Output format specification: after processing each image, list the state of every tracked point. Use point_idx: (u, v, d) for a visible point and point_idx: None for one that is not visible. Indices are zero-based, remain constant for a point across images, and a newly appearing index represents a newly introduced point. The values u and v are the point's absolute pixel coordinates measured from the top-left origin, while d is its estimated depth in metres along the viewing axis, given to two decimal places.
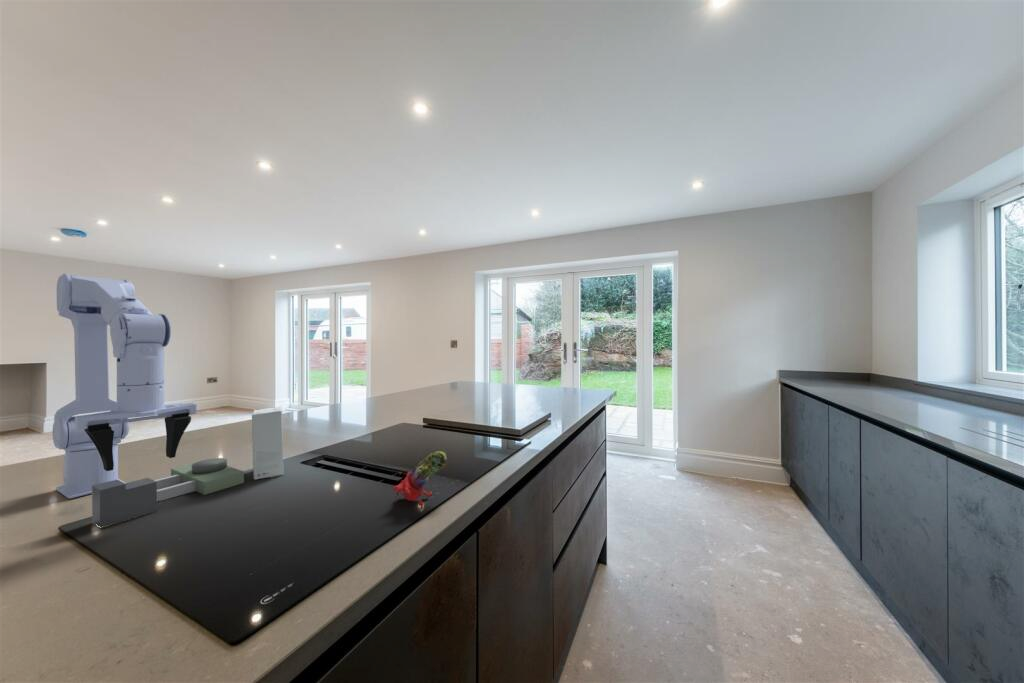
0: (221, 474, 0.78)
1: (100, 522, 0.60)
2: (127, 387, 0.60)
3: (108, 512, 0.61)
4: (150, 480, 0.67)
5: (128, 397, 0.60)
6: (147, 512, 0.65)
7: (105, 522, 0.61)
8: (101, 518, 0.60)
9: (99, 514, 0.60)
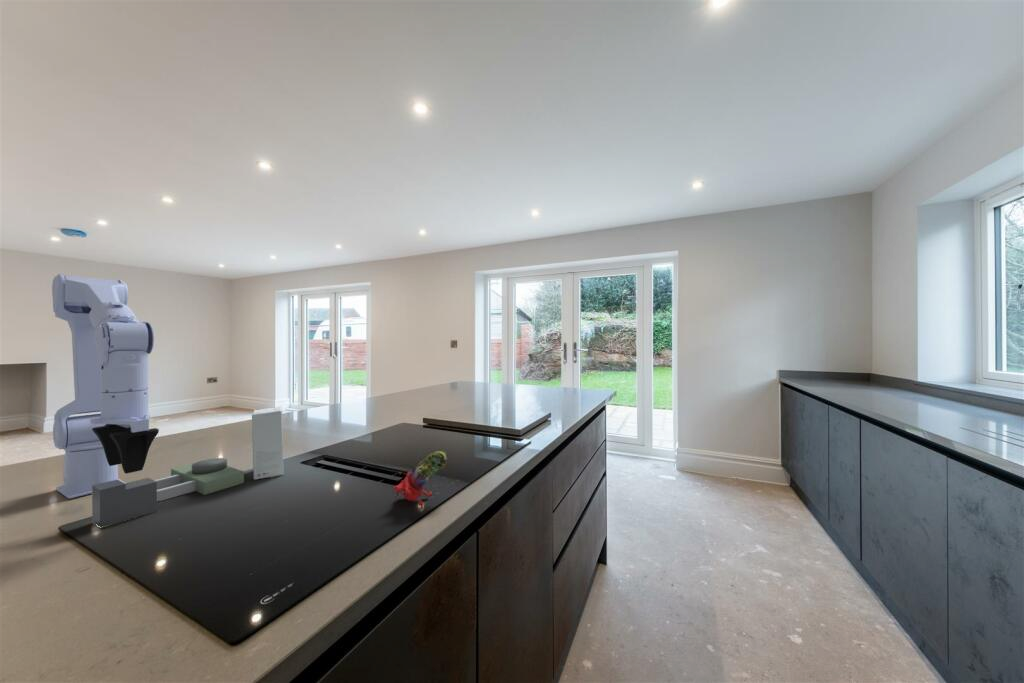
0: (221, 474, 0.78)
1: (100, 522, 0.60)
2: (104, 392, 0.63)
3: (108, 512, 0.61)
4: (150, 480, 0.67)
5: None
6: (147, 512, 0.65)
7: (105, 522, 0.61)
8: (101, 518, 0.60)
9: (99, 514, 0.60)
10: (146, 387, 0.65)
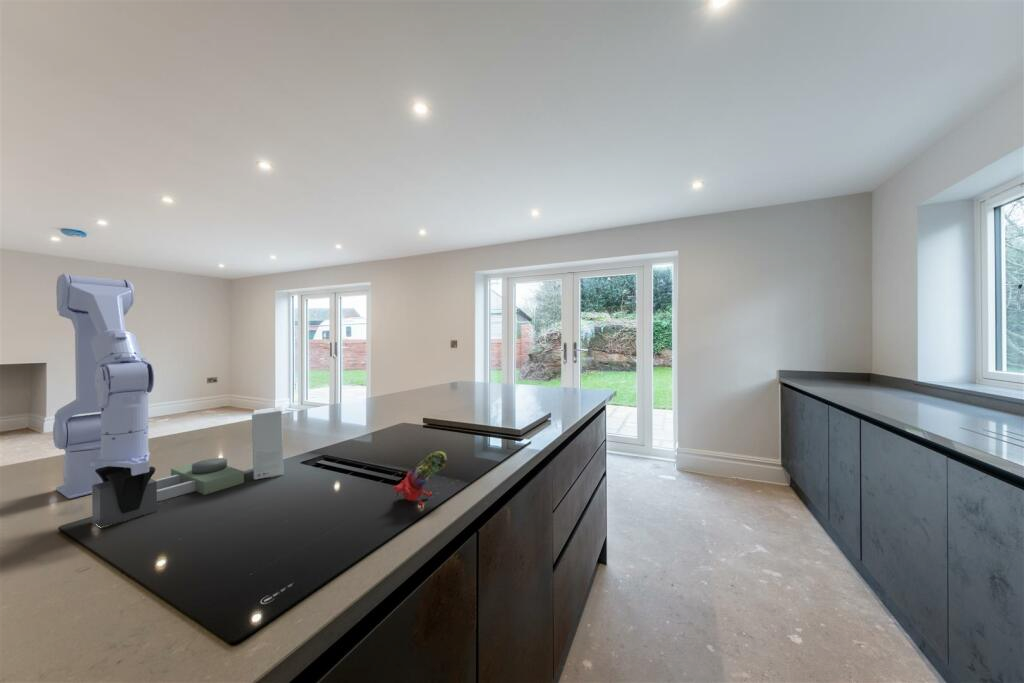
0: (221, 474, 0.78)
1: (100, 521, 0.60)
2: None
3: (108, 511, 0.61)
4: (150, 480, 0.67)
5: None
6: (147, 512, 0.65)
7: (105, 521, 0.61)
8: (101, 517, 0.60)
9: (99, 513, 0.60)
10: (146, 426, 0.65)
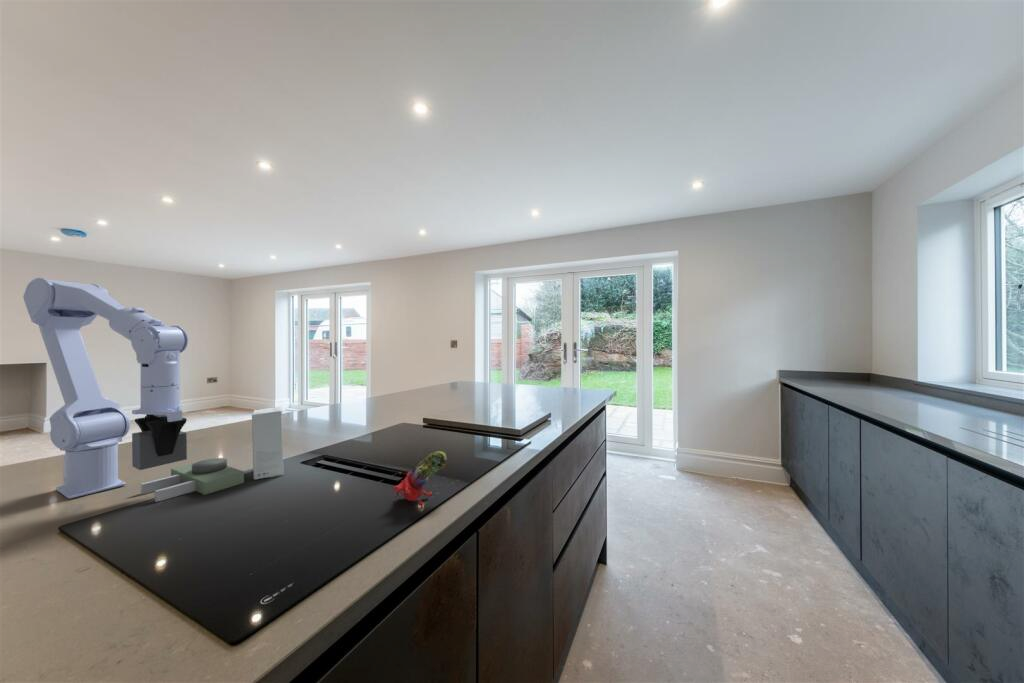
0: (221, 474, 0.78)
1: (140, 464, 0.69)
2: None
3: (146, 455, 0.70)
4: (180, 432, 0.76)
5: None
6: (179, 459, 0.74)
7: (144, 464, 0.70)
8: (141, 460, 0.69)
9: (139, 457, 0.69)
10: (179, 382, 0.75)
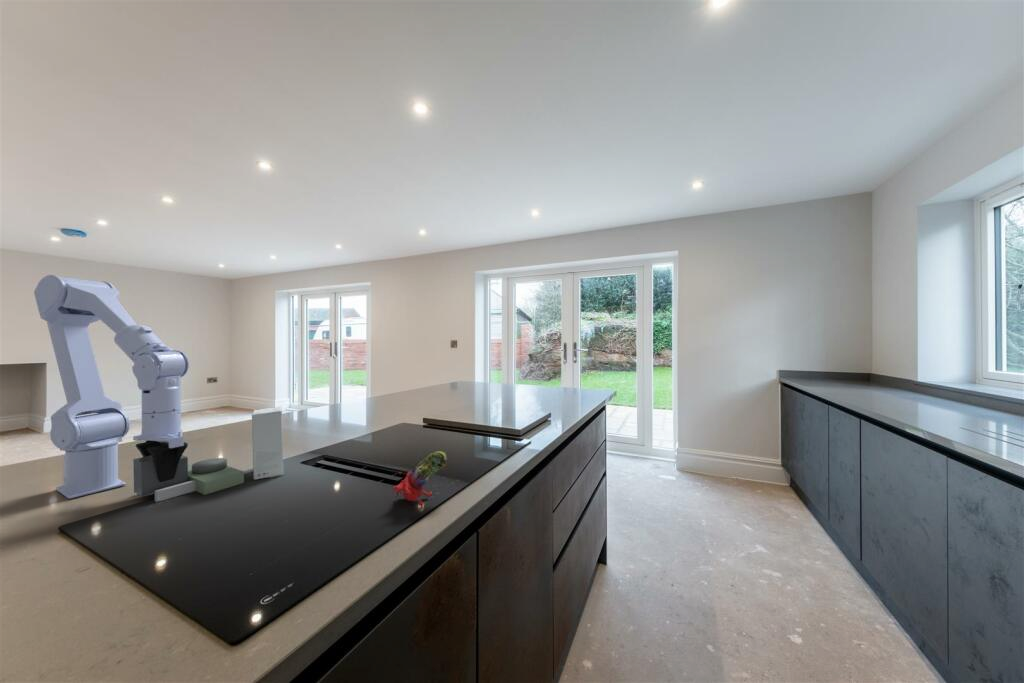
0: (221, 474, 0.78)
1: (142, 490, 0.70)
2: None
3: (148, 481, 0.70)
4: (182, 456, 0.76)
5: None
6: (180, 483, 0.75)
7: (146, 490, 0.70)
8: (142, 486, 0.70)
9: (141, 483, 0.70)
10: (180, 406, 0.76)
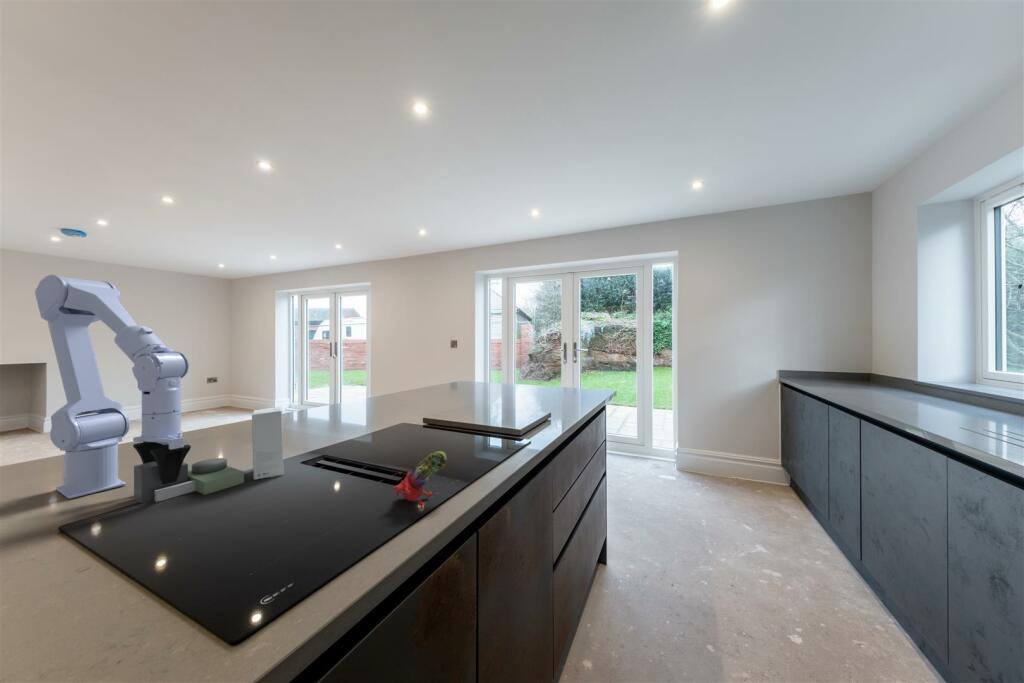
0: (221, 474, 0.78)
1: (141, 497, 0.70)
2: (144, 413, 0.73)
3: (148, 488, 0.70)
4: None
5: None
6: None
7: (145, 497, 0.70)
8: (142, 494, 0.70)
9: (141, 490, 0.70)
10: (180, 408, 0.76)
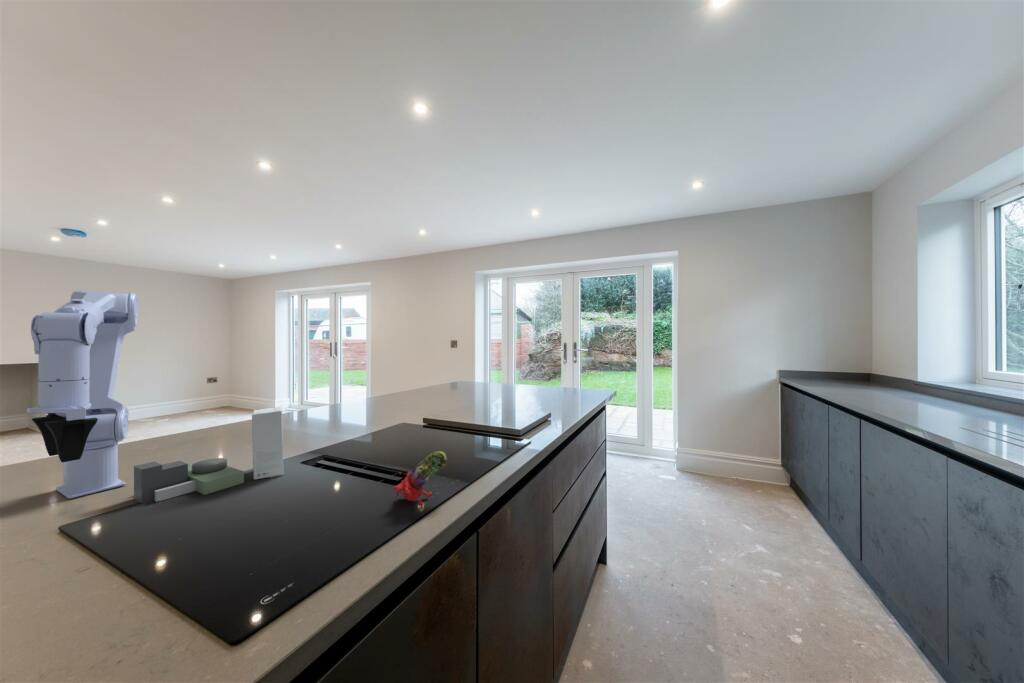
0: (221, 474, 0.78)
1: (141, 497, 0.70)
2: (43, 382, 0.64)
3: (148, 488, 0.70)
4: (182, 462, 0.76)
5: None
6: None
7: (145, 497, 0.70)
8: (142, 494, 0.70)
9: (141, 490, 0.70)
10: (81, 377, 0.65)
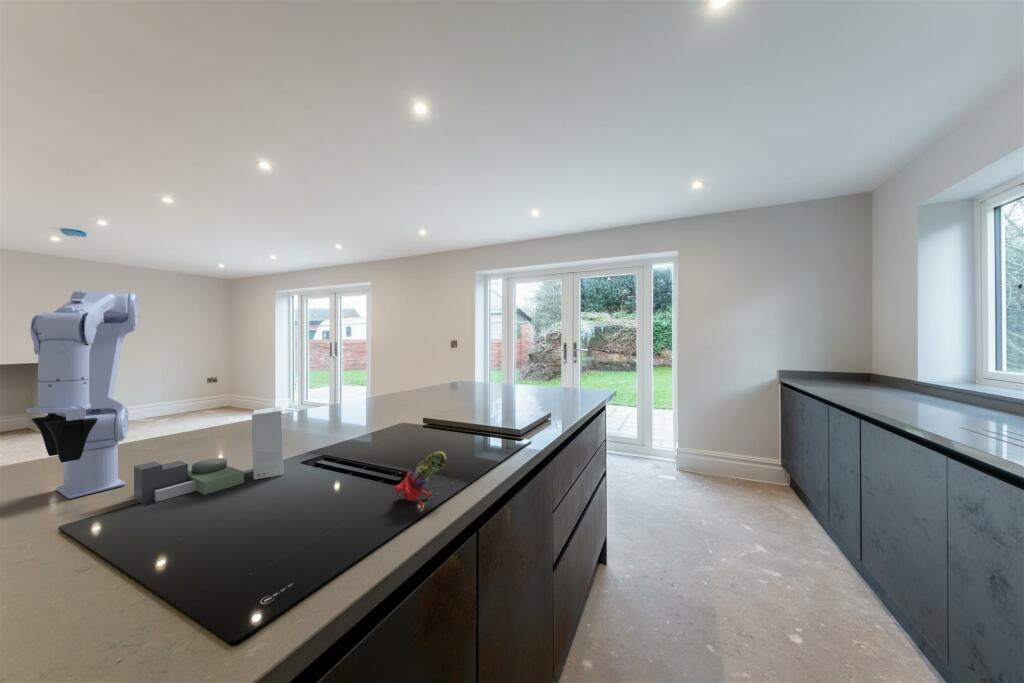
0: (221, 474, 0.78)
1: (141, 497, 0.70)
2: (43, 382, 0.64)
3: (148, 488, 0.70)
4: (182, 462, 0.76)
5: None
6: None
7: (145, 497, 0.70)
8: (142, 494, 0.70)
9: (141, 490, 0.70)
10: (81, 377, 0.64)
